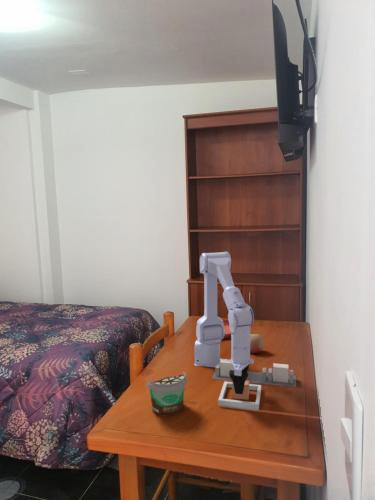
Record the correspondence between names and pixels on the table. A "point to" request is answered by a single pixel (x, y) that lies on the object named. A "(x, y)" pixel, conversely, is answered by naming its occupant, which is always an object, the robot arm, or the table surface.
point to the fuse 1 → (225, 367)
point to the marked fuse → (245, 392)
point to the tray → (239, 404)
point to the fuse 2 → (280, 372)
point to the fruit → (256, 343)
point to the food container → (167, 395)
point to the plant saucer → (227, 329)
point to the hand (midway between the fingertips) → (240, 387)
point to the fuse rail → (260, 377)
